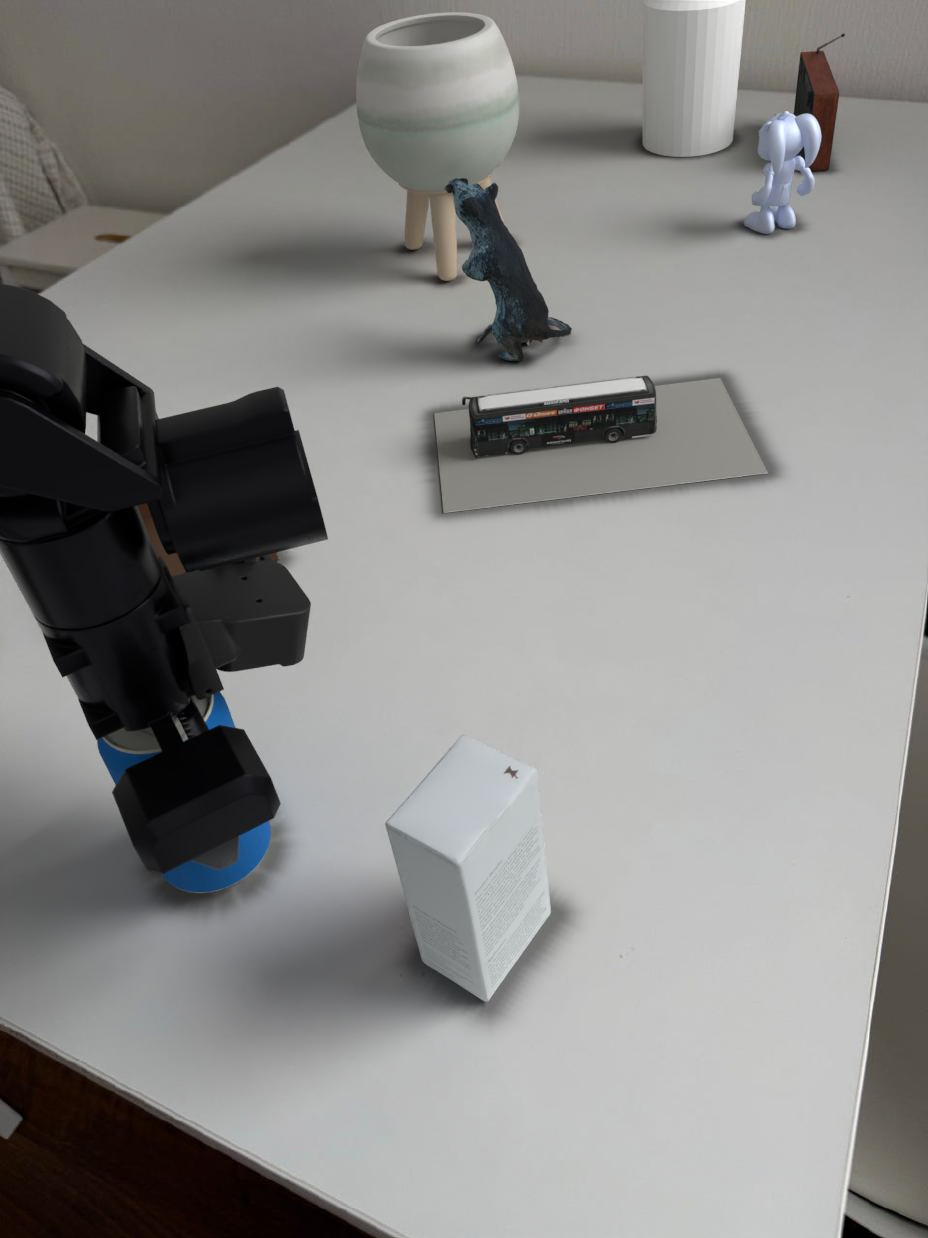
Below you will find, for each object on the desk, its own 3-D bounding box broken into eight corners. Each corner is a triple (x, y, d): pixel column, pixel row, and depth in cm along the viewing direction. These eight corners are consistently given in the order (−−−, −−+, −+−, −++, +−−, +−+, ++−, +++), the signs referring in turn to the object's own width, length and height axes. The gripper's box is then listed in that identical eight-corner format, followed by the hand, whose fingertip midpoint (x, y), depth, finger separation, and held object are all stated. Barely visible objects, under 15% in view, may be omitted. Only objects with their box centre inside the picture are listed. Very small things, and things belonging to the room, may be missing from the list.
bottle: (631, 131, 137) (633, -95, 120) (719, 119, 137) (734, -109, 120) (652, 162, 128) (659, -77, 111) (747, 149, 128) (768, -92, 111)
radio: (789, 124, 133) (803, -9, 123) (813, 122, 133) (830, -11, 123) (803, 178, 120) (820, 34, 110) (830, 177, 119) (850, 32, 109)
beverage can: (231, 786, 62) (175, 641, 54) (296, 847, 58) (247, 702, 50) (138, 854, 59) (64, 711, 51) (200, 923, 55) (131, 781, 47)
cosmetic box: (485, 876, 56) (464, 728, 47) (553, 914, 53) (542, 767, 45) (416, 964, 52) (380, 821, 44) (485, 1008, 50) (461, 867, 42)
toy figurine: (785, 209, 114) (798, 92, 106) (818, 229, 110) (834, 109, 102) (729, 222, 113) (738, 105, 105) (759, 244, 109) (771, 123, 100)
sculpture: (493, 313, 103) (480, 157, 93) (587, 335, 98) (584, 173, 88) (444, 351, 98) (424, 191, 88) (540, 376, 93) (531, 210, 83)
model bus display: (434, 413, 90) (428, 370, 87) (719, 378, 90) (723, 333, 87) (443, 512, 80) (437, 467, 77) (767, 473, 79) (773, 425, 76)
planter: (446, 304, 105) (418, 63, 90) (352, 263, 115) (312, 39, 100) (558, 249, 112) (549, 17, 97) (461, 215, 122) (439, -1, 107)
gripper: (352, 629, 41) (410, 854, 52) (201, 427, 54) (273, 641, 64) (79, 755, 38) (200, 968, 48) (-14, 508, 50) (99, 720, 61)
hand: (199, 803), depth 56 cm, fingers open, 9 cm apart
